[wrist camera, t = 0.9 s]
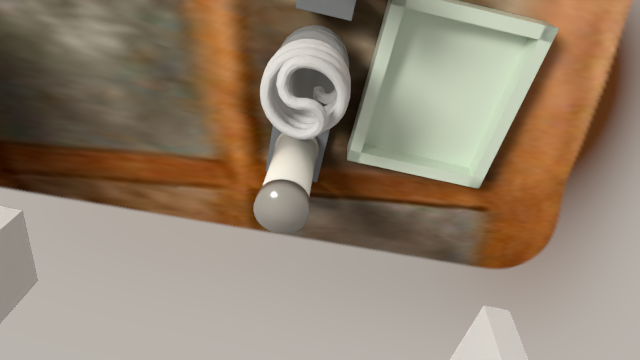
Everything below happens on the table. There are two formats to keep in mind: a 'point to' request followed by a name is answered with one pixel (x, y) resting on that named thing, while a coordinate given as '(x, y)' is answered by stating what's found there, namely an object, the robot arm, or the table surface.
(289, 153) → the fuse
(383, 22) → the tray
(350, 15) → the clip block
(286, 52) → the light bulb
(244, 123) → the table surface
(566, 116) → the table surface
